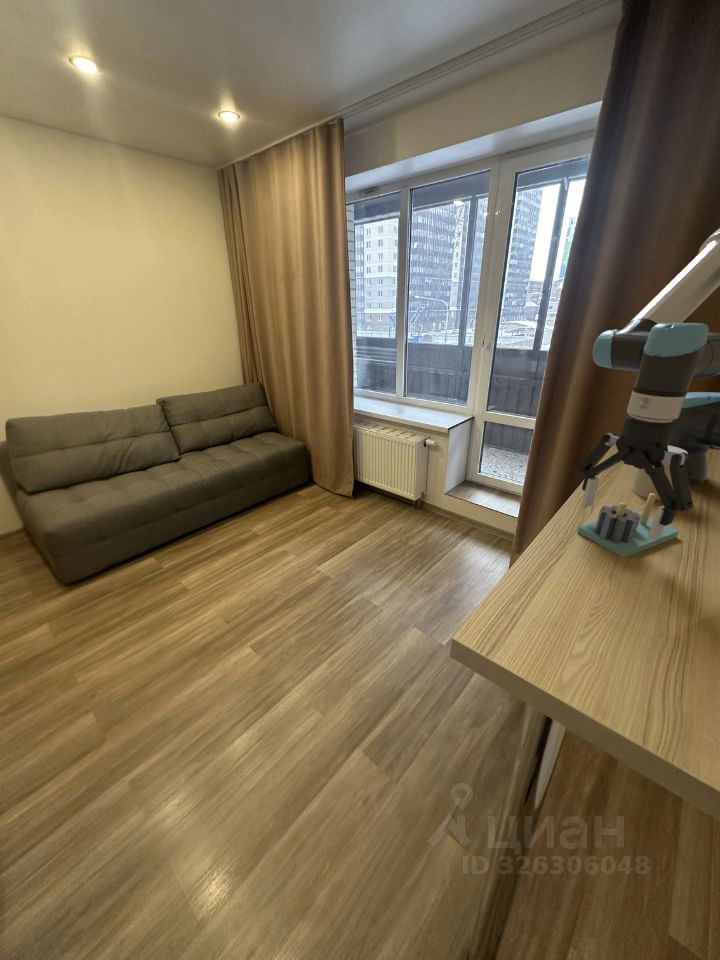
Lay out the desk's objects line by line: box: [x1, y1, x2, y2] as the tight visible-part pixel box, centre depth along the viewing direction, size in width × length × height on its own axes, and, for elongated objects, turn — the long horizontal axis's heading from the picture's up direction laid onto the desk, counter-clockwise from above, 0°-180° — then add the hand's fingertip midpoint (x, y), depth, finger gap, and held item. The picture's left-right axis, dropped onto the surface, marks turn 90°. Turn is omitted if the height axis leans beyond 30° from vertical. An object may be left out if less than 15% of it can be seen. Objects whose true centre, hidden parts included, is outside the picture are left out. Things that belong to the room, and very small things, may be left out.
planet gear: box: [594, 505, 639, 543], centre depth 75 cm, size 6×6×5 cm
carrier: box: [577, 493, 680, 559], centre depth 77 cm, size 17×10×8 cm, turn 114°
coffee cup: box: [631, 445, 688, 501], centre depth 94 cm, size 9×9×12 cm
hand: (617, 520), depth 75 cm, fingers open, 13 cm apart
